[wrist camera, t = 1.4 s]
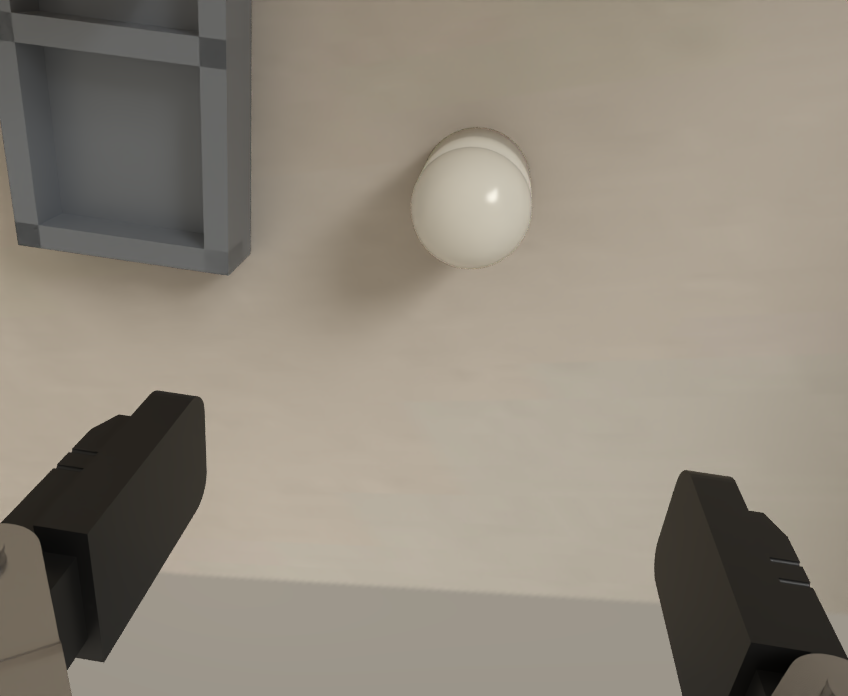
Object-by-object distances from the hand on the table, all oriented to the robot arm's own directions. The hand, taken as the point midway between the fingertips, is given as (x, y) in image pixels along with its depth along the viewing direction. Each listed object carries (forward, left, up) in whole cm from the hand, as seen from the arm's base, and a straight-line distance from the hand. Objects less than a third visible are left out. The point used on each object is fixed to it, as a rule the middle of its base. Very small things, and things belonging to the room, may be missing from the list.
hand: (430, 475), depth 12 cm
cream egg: (0, 0, -20) cm, 20 cm away
